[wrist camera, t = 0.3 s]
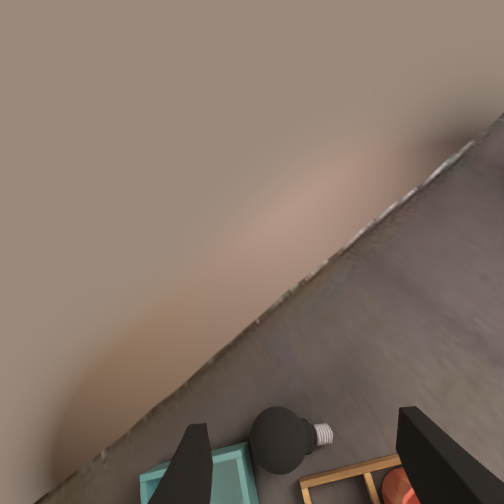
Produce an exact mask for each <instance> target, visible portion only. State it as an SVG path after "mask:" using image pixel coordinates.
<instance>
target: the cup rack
mask: <svg viewBox="0 0 504 504" xmlns="http://www.w3.org/2000/svg"><path fill="white" fill-rule="evenodd" d="M401 464H402V463H401V461H400V458H399V456H398V454H394V455H390V456H386V457H382V458H378V459H374V460H370V461H366V462H362V463H358V464H354V465H350V466H346V467H342V468H338V469H334V470H330V471H326V472H322V473H318V474H314V475H311V476H307V477H303V478H300V479H299V480H300V486H301V490H302V494H303V498H304V503H305V504H312V502H311V498H310V494H309V490H308V488H309V487H313V486H317V485H321V484H325V483H329V482H333V481H337V480H341V479H345V478H349V477H353V476H357V475H361V474H362V475H363V478H364V481H365V484H366V487H367V490H368V493H369V496H370V499H371V502H372V504H380V501H379V498H378V495H377V492H376V489H375V486H374V483H373V480H372V477H371V474H370V472H373V471H377V470H381V469H385V468H389V467H393V466H397V465H401Z"/></svg>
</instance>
